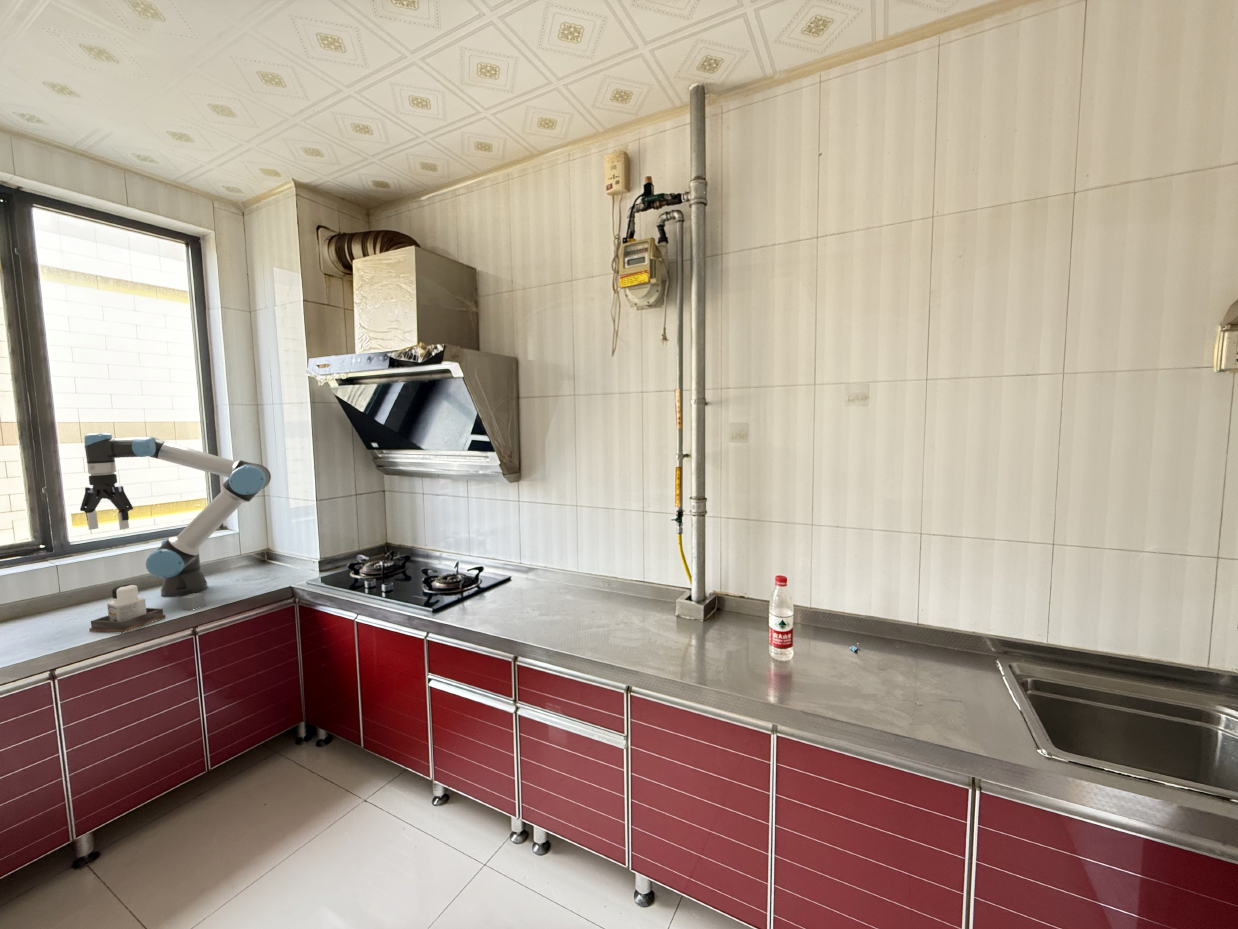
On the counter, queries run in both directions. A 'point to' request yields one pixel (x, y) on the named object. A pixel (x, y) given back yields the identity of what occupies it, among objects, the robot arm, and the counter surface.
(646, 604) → the counter surface
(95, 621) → the tray
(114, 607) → the container
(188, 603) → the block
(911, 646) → the counter surface
